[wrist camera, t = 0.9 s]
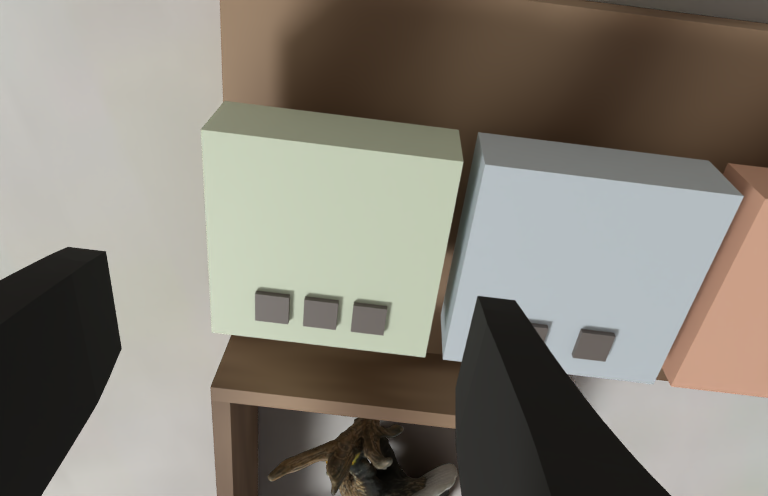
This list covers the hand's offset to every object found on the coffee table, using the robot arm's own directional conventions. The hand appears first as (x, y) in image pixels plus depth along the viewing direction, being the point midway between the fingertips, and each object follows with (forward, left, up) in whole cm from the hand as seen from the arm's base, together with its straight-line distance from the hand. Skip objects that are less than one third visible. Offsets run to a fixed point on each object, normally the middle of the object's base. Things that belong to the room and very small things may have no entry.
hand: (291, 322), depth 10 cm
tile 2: (-7, +2, -6) cm, 9 cm away
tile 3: (0, +2, -6) cm, 6 cm away
